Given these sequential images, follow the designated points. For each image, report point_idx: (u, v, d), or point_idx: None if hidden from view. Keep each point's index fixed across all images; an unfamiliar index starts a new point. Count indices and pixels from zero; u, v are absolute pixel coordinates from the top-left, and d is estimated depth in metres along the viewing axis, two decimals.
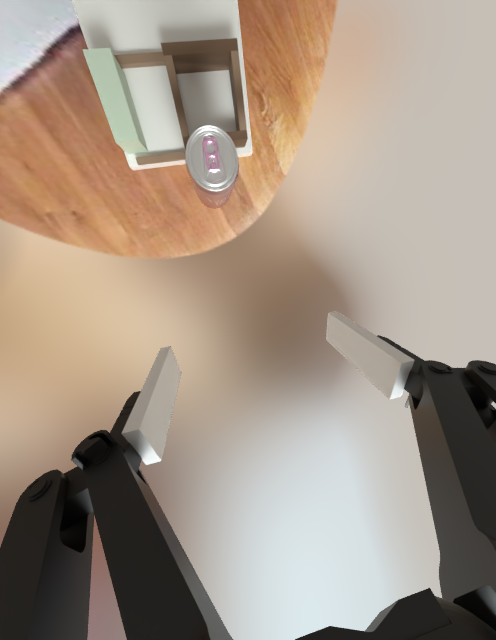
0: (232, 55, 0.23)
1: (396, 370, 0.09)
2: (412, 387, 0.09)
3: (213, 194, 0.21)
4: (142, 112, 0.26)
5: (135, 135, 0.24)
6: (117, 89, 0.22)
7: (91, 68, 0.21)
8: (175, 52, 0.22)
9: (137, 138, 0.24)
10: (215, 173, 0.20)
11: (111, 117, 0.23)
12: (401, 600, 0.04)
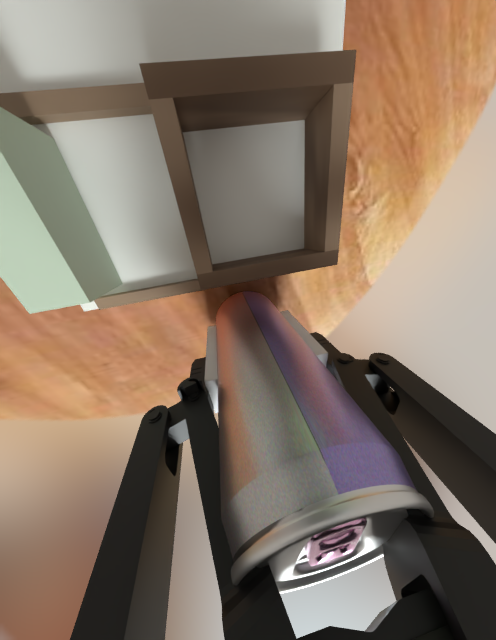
0: (336, 95, 0.09)
1: None
2: None
3: None
4: (105, 215, 0.11)
5: (79, 294, 0.09)
6: (13, 199, 0.07)
7: None
8: (183, 90, 0.08)
9: (85, 299, 0.10)
10: None
11: (6, 265, 0.08)
12: (401, 600, 0.04)
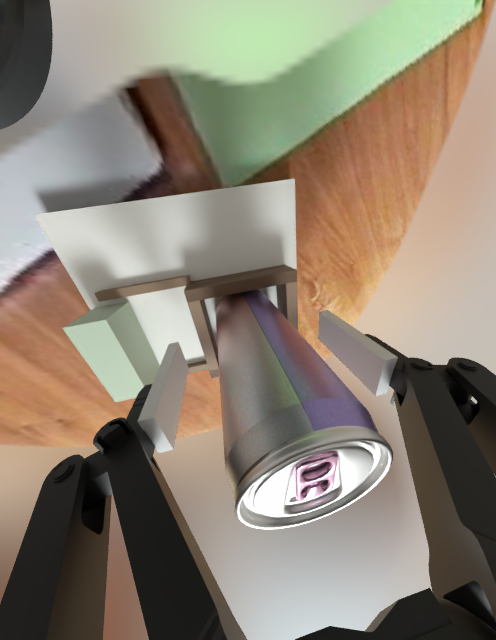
0: (288, 287, 0.16)
1: (380, 367, 0.10)
2: (396, 384, 0.10)
3: None
4: (153, 332, 0.18)
5: None
6: (118, 355, 0.15)
7: (77, 343, 0.13)
8: (205, 296, 0.15)
9: None
10: None
11: (108, 382, 0.15)
12: (401, 600, 0.04)
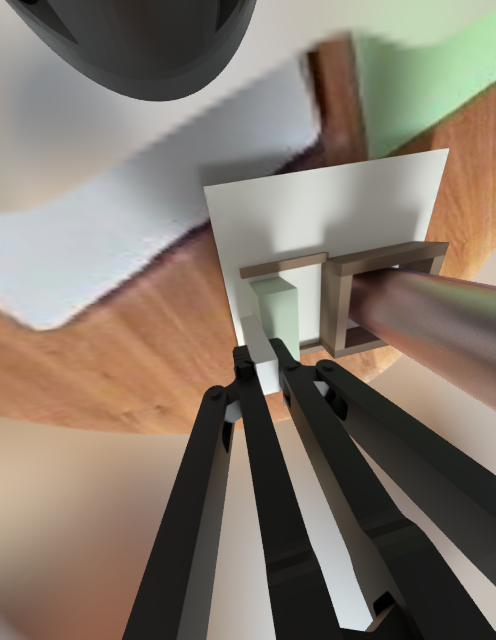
0: (434, 261, 0.15)
1: None
2: (282, 388, 0.11)
3: None
4: None
5: None
6: (292, 327, 0.14)
7: (263, 313, 0.13)
8: (358, 270, 0.14)
9: None
10: None
11: None
12: None
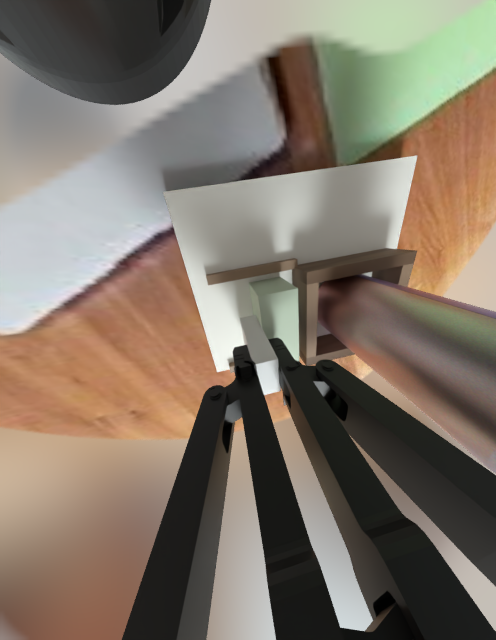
0: (403, 269, 0.15)
1: None
2: (282, 388, 0.11)
3: None
4: None
5: None
6: (292, 327, 0.14)
7: (263, 313, 0.13)
8: (325, 278, 0.14)
9: None
10: None
11: None
12: None
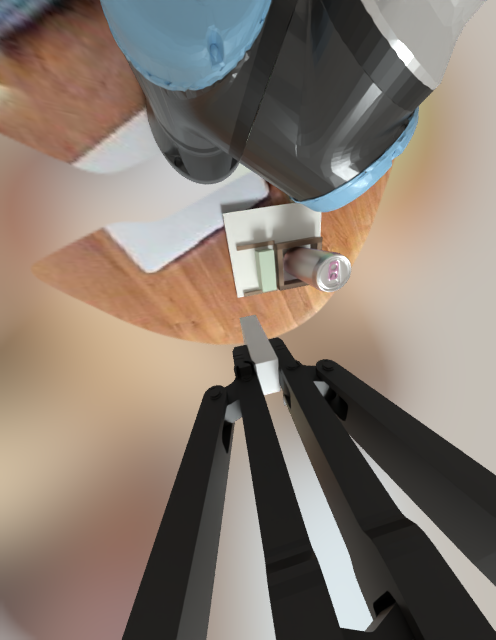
0: (318, 244, 0.36)
1: None
2: (282, 388, 0.11)
3: None
4: (252, 269, 0.39)
5: (275, 287, 0.38)
6: (272, 267, 0.36)
7: (260, 260, 0.35)
8: (284, 247, 0.36)
9: (276, 288, 0.38)
10: (332, 280, 0.28)
11: (264, 280, 0.37)
12: None
